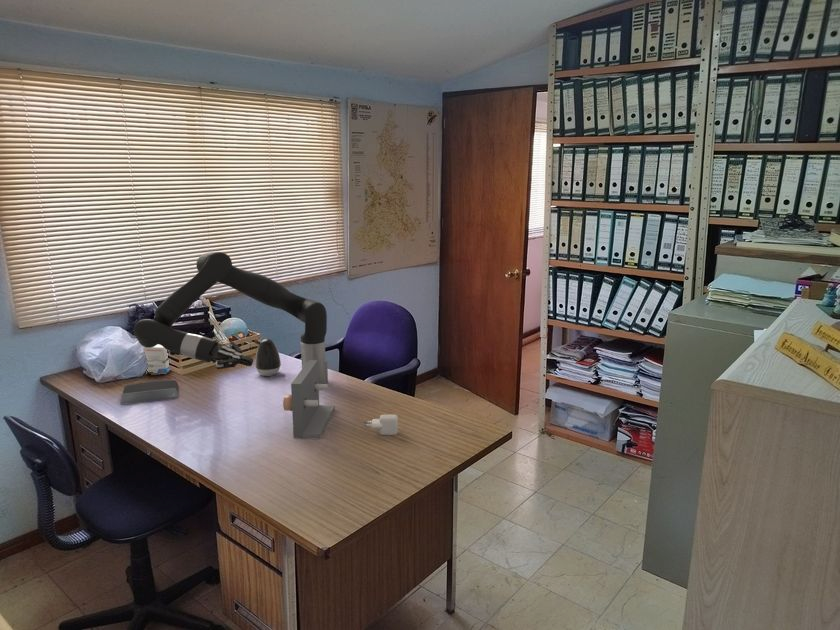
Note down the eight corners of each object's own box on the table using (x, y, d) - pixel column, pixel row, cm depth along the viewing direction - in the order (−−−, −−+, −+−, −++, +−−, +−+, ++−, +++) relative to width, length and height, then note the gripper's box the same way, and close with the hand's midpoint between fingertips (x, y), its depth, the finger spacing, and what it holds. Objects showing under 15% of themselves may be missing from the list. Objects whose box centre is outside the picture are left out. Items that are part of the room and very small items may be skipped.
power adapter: (362, 436, 190) (362, 419, 189) (363, 430, 195) (363, 413, 193) (398, 436, 190) (397, 419, 189) (398, 430, 195) (397, 413, 194)
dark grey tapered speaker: (260, 369, 253) (258, 335, 250) (284, 370, 252) (282, 335, 249) (251, 377, 244) (249, 341, 240) (276, 378, 243) (274, 342, 239)
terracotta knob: (283, 412, 189) (282, 398, 188) (287, 406, 194) (287, 392, 193) (316, 413, 188) (315, 398, 187) (319, 407, 193) (319, 393, 192)
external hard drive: (178, 399, 221) (177, 388, 220) (120, 406, 215) (119, 395, 214) (179, 387, 233) (178, 377, 232) (124, 393, 227) (122, 383, 226)
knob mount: (293, 438, 189) (291, 383, 184) (310, 408, 212) (308, 360, 208) (320, 438, 188) (318, 384, 184) (334, 409, 211) (333, 360, 207)
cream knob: (295, 395, 203) (294, 381, 202) (299, 390, 208) (298, 376, 207) (326, 396, 203) (325, 382, 202) (328, 391, 208) (328, 377, 207)
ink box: (172, 371, 251) (169, 344, 248) (165, 375, 246) (163, 347, 243) (152, 370, 252) (149, 343, 249) (146, 374, 247) (143, 346, 244)
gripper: (191, 349, 183) (246, 365, 184) (208, 327, 194) (260, 342, 195) (189, 368, 186) (243, 383, 187) (206, 345, 198) (257, 360, 199)
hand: (252, 362), depth 191 cm, fingers closed
